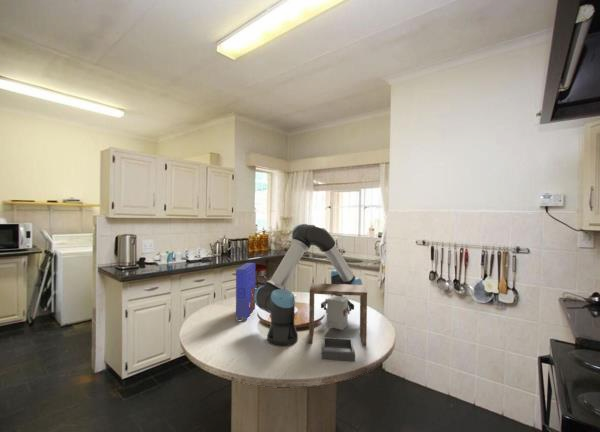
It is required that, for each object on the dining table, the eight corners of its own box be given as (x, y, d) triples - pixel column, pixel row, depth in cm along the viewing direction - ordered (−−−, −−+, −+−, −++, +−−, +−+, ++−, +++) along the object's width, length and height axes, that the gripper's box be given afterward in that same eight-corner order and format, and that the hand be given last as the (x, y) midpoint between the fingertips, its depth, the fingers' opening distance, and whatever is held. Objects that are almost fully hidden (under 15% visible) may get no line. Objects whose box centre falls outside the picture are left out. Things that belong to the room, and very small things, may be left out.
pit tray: (321, 359, 121) (321, 351, 121) (322, 344, 135) (322, 337, 135) (354, 361, 120) (355, 353, 120) (352, 346, 134) (352, 338, 134)
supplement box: (342, 330, 147) (342, 301, 146) (326, 326, 151) (326, 299, 151) (348, 324, 155) (348, 297, 154) (332, 321, 159) (333, 294, 159)
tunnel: (309, 343, 136) (309, 290, 136) (310, 331, 150) (311, 283, 150) (366, 346, 133) (367, 292, 133) (362, 333, 147) (363, 285, 147)
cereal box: (246, 308, 185) (246, 262, 185) (255, 308, 185) (255, 262, 184) (235, 320, 163) (236, 269, 163) (245, 321, 163) (246, 269, 163)
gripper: (356, 305, 171) (360, 319, 149) (317, 304, 174) (315, 317, 152) (356, 293, 171) (360, 305, 149) (317, 291, 174) (315, 303, 152)
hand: (337, 311), depth 151 cm, fingers closed on supplement box, 11 cm apart
